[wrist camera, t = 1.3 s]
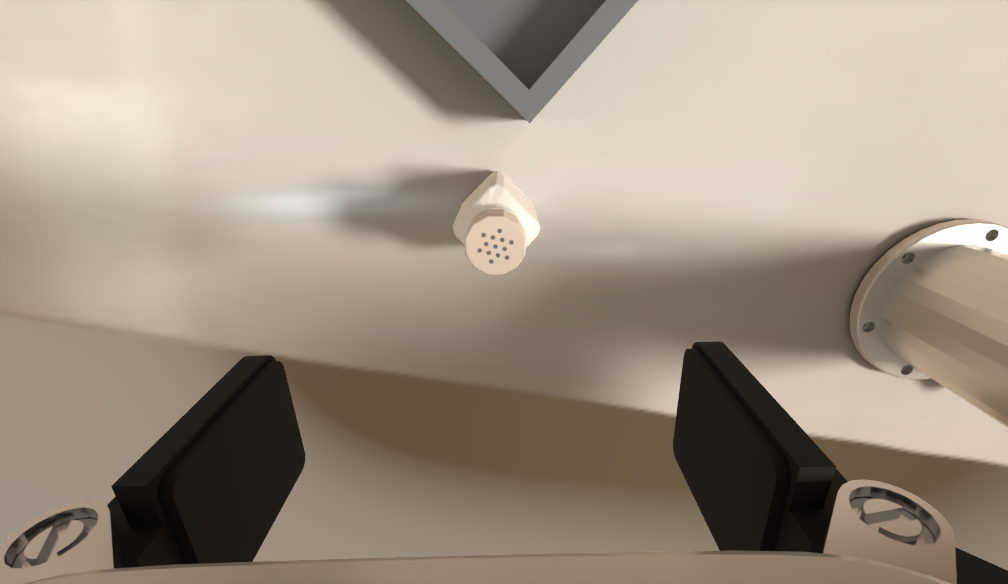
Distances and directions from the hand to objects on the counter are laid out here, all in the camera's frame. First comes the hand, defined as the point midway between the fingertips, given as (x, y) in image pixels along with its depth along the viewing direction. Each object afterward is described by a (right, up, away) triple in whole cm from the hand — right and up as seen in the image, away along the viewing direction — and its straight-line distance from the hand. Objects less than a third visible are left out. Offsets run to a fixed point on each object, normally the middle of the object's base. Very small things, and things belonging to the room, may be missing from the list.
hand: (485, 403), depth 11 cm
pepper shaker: (0, +9, +22) cm, 24 cm away
